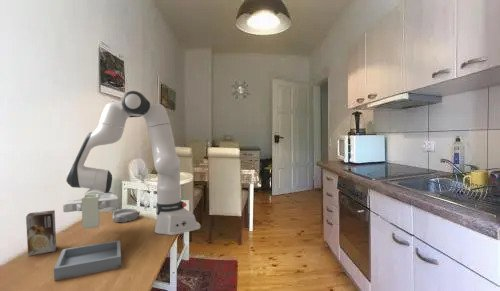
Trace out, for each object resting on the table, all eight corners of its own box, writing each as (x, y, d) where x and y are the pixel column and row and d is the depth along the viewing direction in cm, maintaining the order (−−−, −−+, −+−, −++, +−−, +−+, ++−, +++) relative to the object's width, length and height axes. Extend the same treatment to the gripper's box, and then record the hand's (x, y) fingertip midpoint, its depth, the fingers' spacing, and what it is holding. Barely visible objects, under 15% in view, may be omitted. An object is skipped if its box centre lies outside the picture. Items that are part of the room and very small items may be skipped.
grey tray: (120, 249, 117) (119, 240, 117) (121, 267, 101) (121, 256, 101) (63, 259, 108) (62, 249, 108) (54, 280, 92) (53, 268, 92)
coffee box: (57, 246, 122) (55, 209, 121) (54, 251, 116) (53, 213, 115) (30, 250, 117) (29, 212, 117) (27, 256, 112) (25, 216, 111)
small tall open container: (99, 222, 117) (98, 193, 116) (98, 227, 110) (97, 196, 110) (84, 224, 114) (83, 194, 114) (82, 229, 108) (81, 198, 108)
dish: (119, 225, 151) (119, 216, 151) (106, 220, 159) (106, 212, 159) (143, 218, 162) (143, 210, 162) (131, 214, 171) (130, 206, 171)
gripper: (65, 196, 120) (59, 203, 107) (118, 191, 128) (118, 197, 116) (65, 211, 120) (59, 219, 107) (118, 205, 129) (118, 212, 116)
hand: (90, 207), depth 112 cm, fingers closed on small tall open container, 5 cm apart
